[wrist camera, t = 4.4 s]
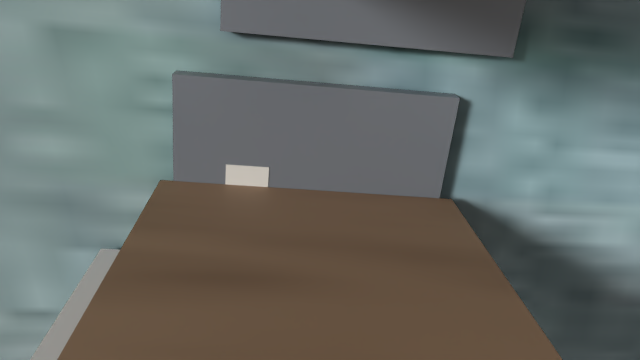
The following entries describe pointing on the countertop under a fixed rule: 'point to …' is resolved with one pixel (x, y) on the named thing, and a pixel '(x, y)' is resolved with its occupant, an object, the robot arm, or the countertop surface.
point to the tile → (310, 135)
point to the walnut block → (303, 282)
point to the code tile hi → (385, 22)
